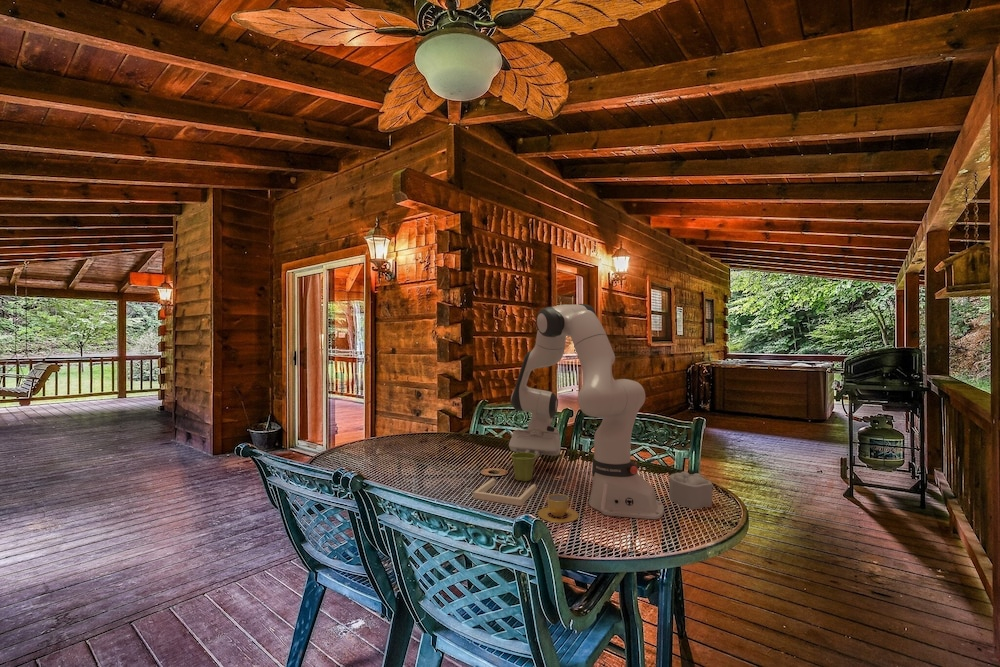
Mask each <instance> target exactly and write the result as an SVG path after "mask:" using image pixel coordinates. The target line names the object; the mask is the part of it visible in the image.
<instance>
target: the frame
mask: <svg viewBox="0 0 1000 667" xmlns="http://www.w3.org/2000/svg"><path fill="white" fill-rule="evenodd" d="M495 485H496V479H495V478H490V479H489V480H488V481H486V482H485V483H483V485H481V486H480V487H478V488H477V489H475V491H472V499H476V500H480V501H485V502H487V501H488V502H492V503H493V502H494V503H498V504H506V505H512V506H520V507H521V506H522V505H524V504H525V502H526V501H527V500H528V499H529V498H530V497H532V496H533V494H534V493H535V492H537V484H532V485H530V486H529V487H528V488H527V489H526V490H525V491H524V492H523V493H522V494H521V495H520V496H519V497H515V496H509V495H502V494H498V493H497V494H496V493H489V492H487V491H489V490H490V489H491V488H493V487H494V486H495Z"/></svg>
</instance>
